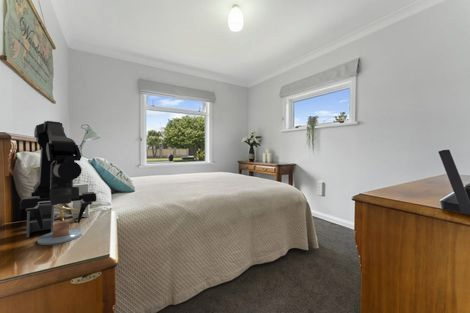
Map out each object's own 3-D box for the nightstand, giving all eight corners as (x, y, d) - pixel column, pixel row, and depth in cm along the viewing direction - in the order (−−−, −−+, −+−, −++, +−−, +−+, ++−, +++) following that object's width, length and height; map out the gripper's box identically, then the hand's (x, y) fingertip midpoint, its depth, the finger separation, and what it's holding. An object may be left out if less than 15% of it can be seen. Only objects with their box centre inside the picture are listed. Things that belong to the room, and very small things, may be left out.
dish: (53, 233, 71) (53, 230, 71) (88, 231, 73) (88, 228, 73) (27, 246, 61) (27, 242, 61) (69, 243, 63) (69, 240, 63)
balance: (34, 228, 76) (34, 207, 76) (35, 225, 80) (36, 205, 80) (86, 220, 86) (86, 202, 86) (85, 218, 90) (85, 200, 90)
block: (52, 238, 64) (52, 225, 64) (52, 234, 67) (53, 222, 67) (69, 235, 67) (69, 222, 67) (68, 231, 70) (68, 220, 70)
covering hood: (29, 217, 72) (29, 202, 73) (54, 214, 77) (54, 200, 77) (26, 221, 67) (27, 205, 67) (53, 218, 72) (53, 203, 72)
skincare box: (88, 217, 91) (89, 184, 92) (71, 219, 88) (72, 184, 88) (89, 213, 98) (90, 182, 99) (73, 214, 95) (74, 183, 95)
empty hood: (29, 232, 72) (29, 217, 72) (54, 228, 77) (54, 214, 77) (26, 237, 67) (26, 221, 67) (53, 233, 72) (53, 218, 72)
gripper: (16, 182, 55) (15, 240, 55) (98, 178, 67) (98, 226, 67) (23, 179, 64) (21, 229, 63) (95, 176, 76) (94, 218, 75)
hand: (61, 225), depth 67 cm, fingers open, 9 cm apart
